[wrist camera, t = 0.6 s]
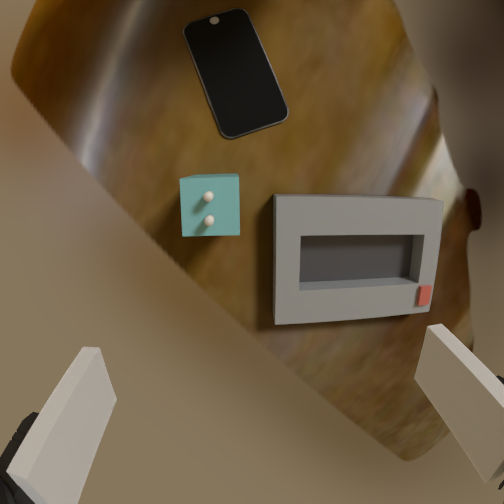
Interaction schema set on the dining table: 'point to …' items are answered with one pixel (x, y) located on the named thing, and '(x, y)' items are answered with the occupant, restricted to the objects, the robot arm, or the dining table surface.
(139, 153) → the dining table surface
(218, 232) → the block
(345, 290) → the grey slotted tray
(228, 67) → the smartphone
